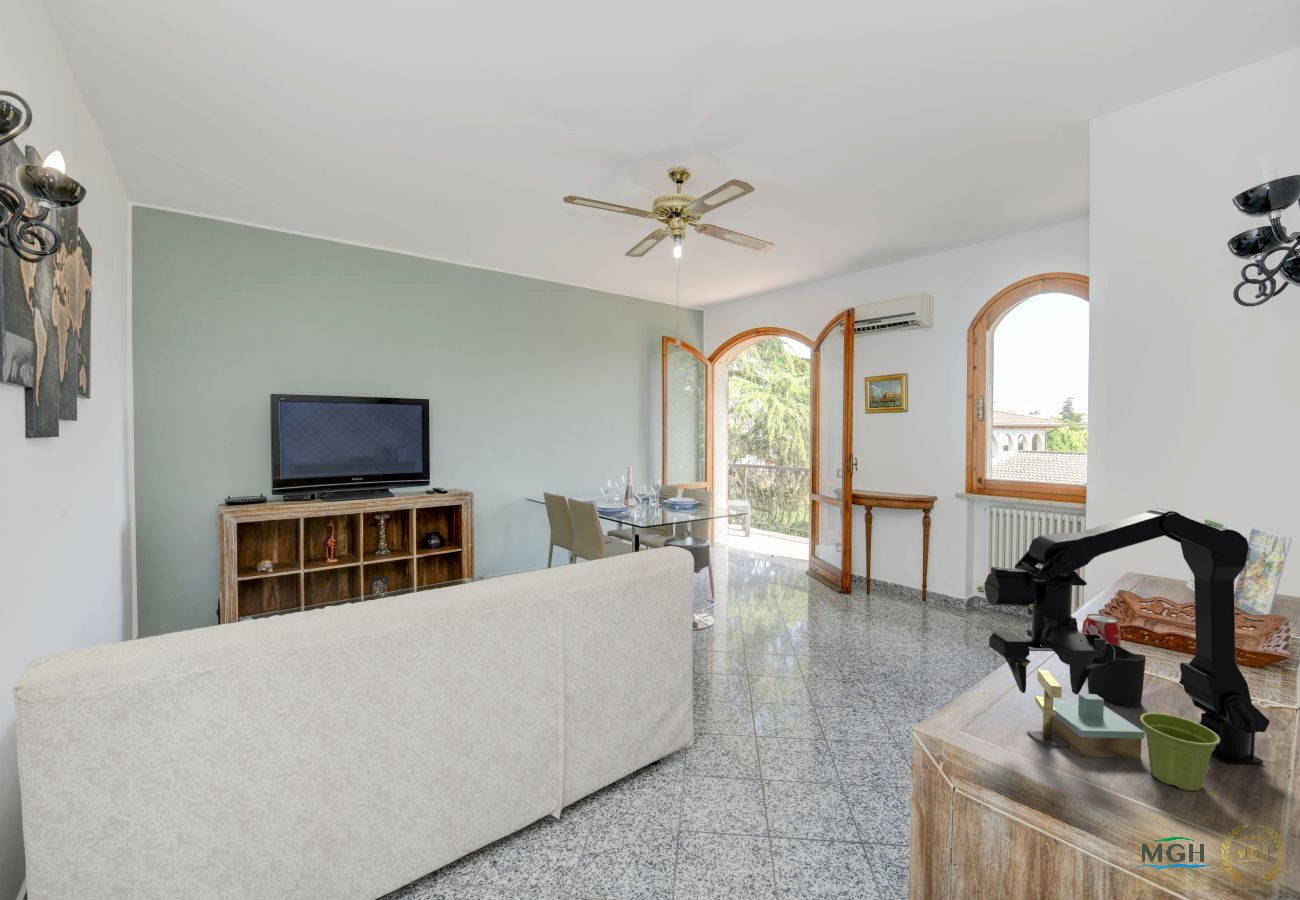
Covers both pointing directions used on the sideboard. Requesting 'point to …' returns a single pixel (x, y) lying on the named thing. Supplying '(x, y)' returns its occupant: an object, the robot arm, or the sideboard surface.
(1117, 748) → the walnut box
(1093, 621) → the soda can
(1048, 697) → the key
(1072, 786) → the sideboard surface
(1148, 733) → the plant pot
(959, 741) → the sideboard surface
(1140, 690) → the pen holder
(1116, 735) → the lid
